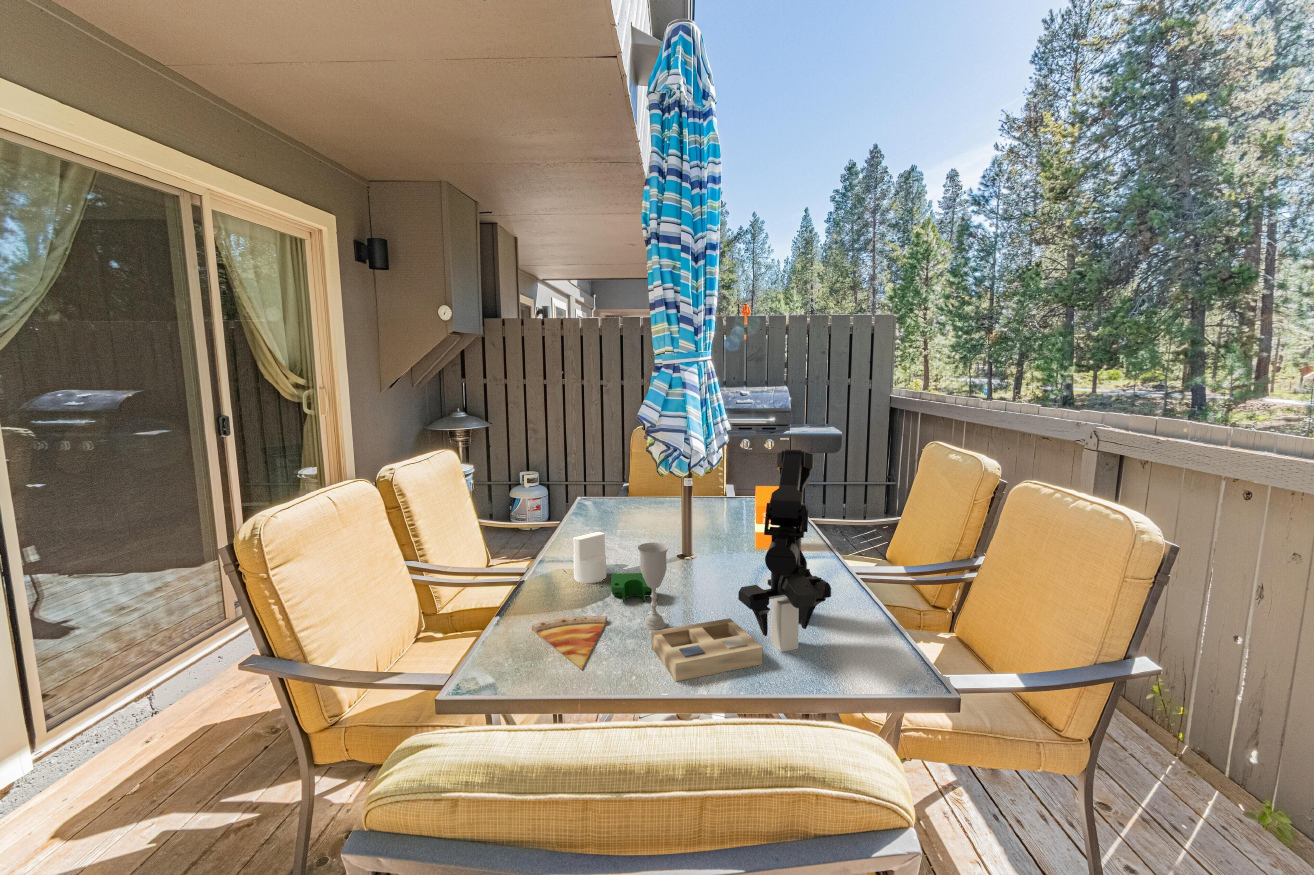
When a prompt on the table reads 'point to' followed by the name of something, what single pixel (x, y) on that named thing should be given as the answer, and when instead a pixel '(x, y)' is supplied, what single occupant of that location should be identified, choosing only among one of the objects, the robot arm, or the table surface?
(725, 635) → the socket board
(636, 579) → the clamp
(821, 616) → the table surface
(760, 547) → the orange juice
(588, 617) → the pizza slice
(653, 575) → the chalice
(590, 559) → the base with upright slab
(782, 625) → the plug
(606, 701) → the table surface
